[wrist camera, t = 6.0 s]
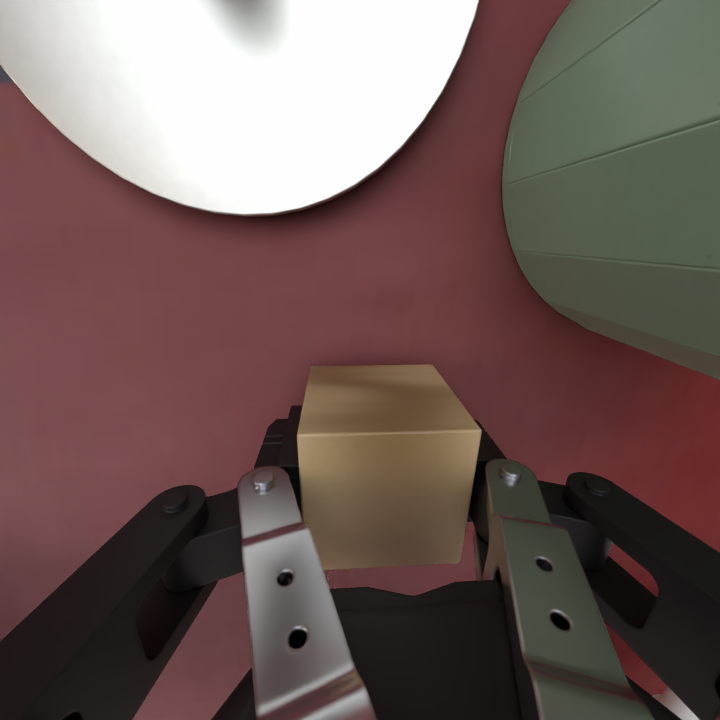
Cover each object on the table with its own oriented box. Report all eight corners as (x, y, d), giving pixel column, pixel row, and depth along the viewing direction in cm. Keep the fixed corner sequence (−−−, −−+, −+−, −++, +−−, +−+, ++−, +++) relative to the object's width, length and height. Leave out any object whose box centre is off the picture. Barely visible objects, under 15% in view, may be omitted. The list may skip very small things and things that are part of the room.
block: (314, 468, 14) (304, 572, 10) (310, 365, 12) (295, 434, 8) (423, 464, 14) (461, 563, 10) (433, 363, 13) (483, 430, 8)
